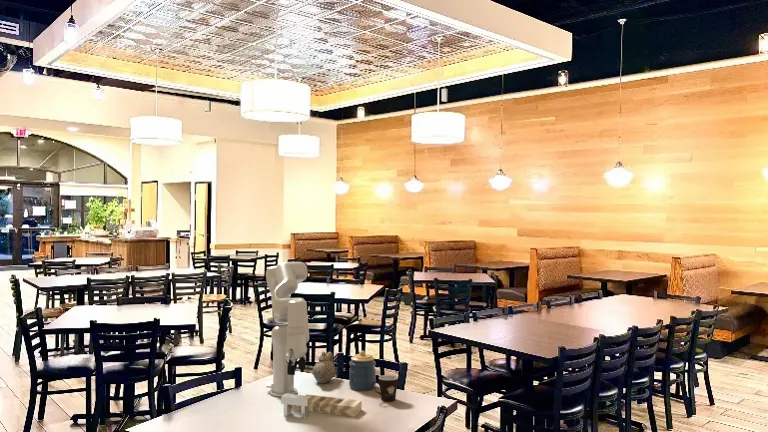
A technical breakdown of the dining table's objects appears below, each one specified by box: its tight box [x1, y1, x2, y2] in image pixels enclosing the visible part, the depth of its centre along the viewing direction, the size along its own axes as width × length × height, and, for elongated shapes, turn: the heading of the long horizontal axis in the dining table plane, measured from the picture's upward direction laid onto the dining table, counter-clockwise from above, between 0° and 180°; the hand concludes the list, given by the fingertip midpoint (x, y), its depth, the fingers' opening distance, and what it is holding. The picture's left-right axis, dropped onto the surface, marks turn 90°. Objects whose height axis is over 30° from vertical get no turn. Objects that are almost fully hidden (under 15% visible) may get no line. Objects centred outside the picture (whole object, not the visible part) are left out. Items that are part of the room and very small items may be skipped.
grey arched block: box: [280, 394, 312, 419], centre depth 241 cm, size 12×4×8 cm, turn 71°
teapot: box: [312, 351, 337, 384], centre depth 292 cm, size 21×12×15 cm, turn 168°
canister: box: [348, 350, 377, 392], centre depth 282 cm, size 13×13×18 cm
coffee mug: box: [371, 374, 399, 403], centre depth 262 cm, size 12×9×10 cm
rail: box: [296, 394, 363, 418], centre depth 248 cm, size 26×9×4 cm, turn 71°
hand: (296, 371), depth 241 cm, fingers open, 9 cm apart
